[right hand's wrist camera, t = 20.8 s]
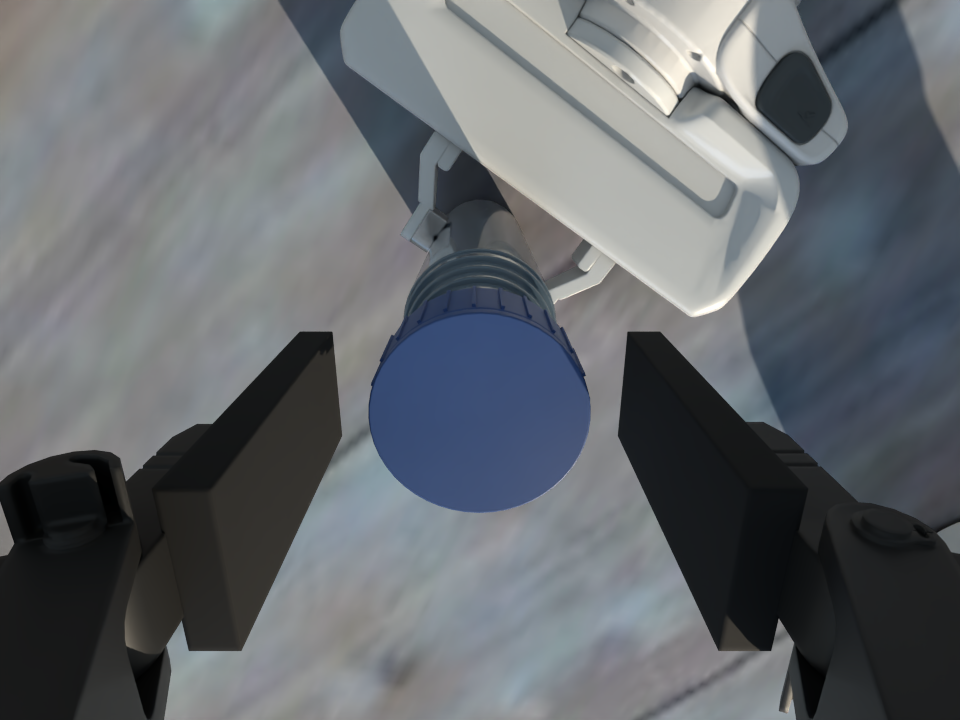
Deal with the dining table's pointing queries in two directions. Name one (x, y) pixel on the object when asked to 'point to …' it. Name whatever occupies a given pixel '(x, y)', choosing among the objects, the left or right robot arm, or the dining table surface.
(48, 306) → the dining table surface
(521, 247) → the bottle
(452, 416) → the cap
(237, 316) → the dining table surface
